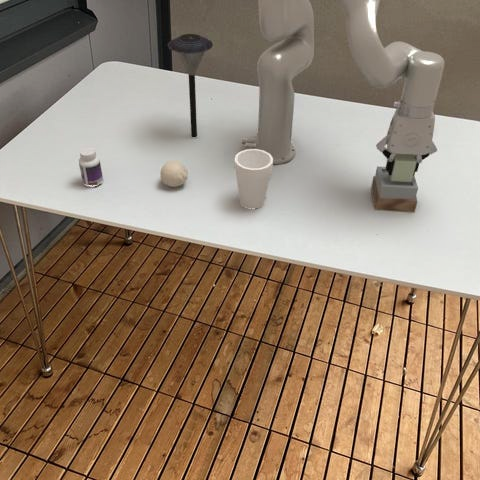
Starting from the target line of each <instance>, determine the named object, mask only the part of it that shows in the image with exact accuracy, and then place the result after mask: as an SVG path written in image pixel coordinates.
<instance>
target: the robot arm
mask: <svg viewBox="0 0 480 480" xmlns="http://www.w3.org/2000/svg"><path fill="white" fill-rule="evenodd" d="M257 1H258V2H257V3H258V16H259V17H258V18H259V19H258V20H259V26H260V27H259V28H260V32H261V34H262V36H263V38H264V39H265V40H267V41H268V42H271V43H275V44H273V45H271V46H270V47H268V48H267V49H266V50H265V51H263V52H262V54H261V55H260V56H259V58H258V61H257V64H256V71H257V79H258V85H259V86H258V88H259V89H258V90H259V94H258V97H259V99H258V121H257V123H258V124H257V133H256V136H253V137H247V136H246V137H245V136H243V137H241V144H242V145H245V148H247V149H259V150H264V151H266V152H267V153H269V154H270V155H271V156H272V157H273V165H281V164H285V163H288V162H289V161H292V160H293V159H294V158H295V155H296V148H295V146H294V145H293V143H292V134H293V133H292V131H293V122H294V110H295V90H294V87H293V79H294V78H295V77H297V76H298V74H300V73H302V72H303V71H304V70H306V69H307V68H308V67H309V66H311V63H312V61H313V60H314V54H315V20H314V19H315V17H314V14H315V13H314V9H313V6H312V3H311V2H310V0H257ZM336 2H337V3H338V5H339V7H340V9H341V10H342V12H343V14H344V16H345V23H346V36H347V40H348V45H349V50H350V53H351V56H352V58H353V60H354V62H355V63H356V66H357V67H358V69H359V71H360V72H361V74H362V76H363V77H364V79H365V80H366V81H367V82H368V83H369V84H370V85H371V86H373V87H374V88H377V89H386V88H388V87H391V86H393V84H395V83H396V82H398V80H399V79H402V78H404V79H405V80H404V83H403V84H404V85H403V89H402V93H401V96H400V99H399V100H397V101H393V108H395V111H394V113H393V115H392V118H391V121H390V123H389V126H388V130H387V133H386V135H385V137H383V138H382V139H381V140H379V141H378V143H376V145H375V146H376V149H377V150H378V151H379V152H380V153H382V155H383V156H384V157H385V158H386V159H387V160H386V164H385V167H386V170H388V174H389V175H392V171H393V166H394V158H395V156H396V154H409V155H415V158H416V161H417V163H416V166H415V170H414V174H413V177H414V176H415V175H416V173H418V171H419V166H420V164H422V162H423V160H425V159H427V158H428V157H429V156H430V155H433V154H435V153H437V152H438V148H437V146H436V144H435V143H434V140H433V138H434V132H435V125H436V115H435V113H434V107H435V104H436V99H437V95H438V91H439V88H440V83H441V81H442V77H443V72H444V69H445V59H444V57H442V56H441V55H440V54H438V53H435V52H431V51H425V50H424V51H423V50H421V49H419V48H417V47H415V46H413V45H412V44H409V43H407V42H404V41H393V42H391V43H389V44H388V45H386V46H385V47H384V46H383V44H382V41H381V40H380V37H379V34H378V30H377V14H378V10H379V6H380V2H381V0H336ZM276 42H277V43H276ZM385 146H386V147H385Z"/></svg>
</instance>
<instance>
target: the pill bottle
mask: <svg viewBox="0 0 480 480" xmlns="http://www.w3.org/2000/svg"><path fill="white" fill-rule="evenodd" d="M79 156H80V157H79V159H78V167H79V171H80V174H81V175H80V176H81V181H82V184H83V183H84V184H86V185H92V186H93V185H98V184H100V183H101V182H102V181H103V182H104V175H103V171H102V165H101V160H100V157H99V156H98V155H97V152H96V148H93V147H90V146H89V147H83V148H82V149H80V150H79ZM84 184H83V185H84Z"/></svg>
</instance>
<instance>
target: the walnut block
mask: <svg viewBox="0 0 480 480" xmlns="http://www.w3.org/2000/svg"><path fill="white" fill-rule="evenodd" d="M370 187H371V192H372V201H373V207H374V210H375V211H385V212H386V211H387V212H389V211H390V212H400V213H401V212H402V213H415V210H416V207H417V204H418V198H417V196H416V198H415V200H411V199H390V198H379V195H378V190H377V186H376V181H375V175H374V176H373V178H372V182H371V186H370Z"/></svg>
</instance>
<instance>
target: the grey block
mask: <svg viewBox="0 0 480 480" xmlns="http://www.w3.org/2000/svg"><path fill="white" fill-rule="evenodd" d="M374 176H375V181H376V186H377V190H378V195H379V198H390V199H411V200H415V198H416V197H417V194H418V190H419V186H418V183H417V180H416V177H415V175H414V177H413V178H412V182H401V181H391V178H390V175H389V174H388V170H386V166H379V165H378V166H376V170H375V174H374Z"/></svg>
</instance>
